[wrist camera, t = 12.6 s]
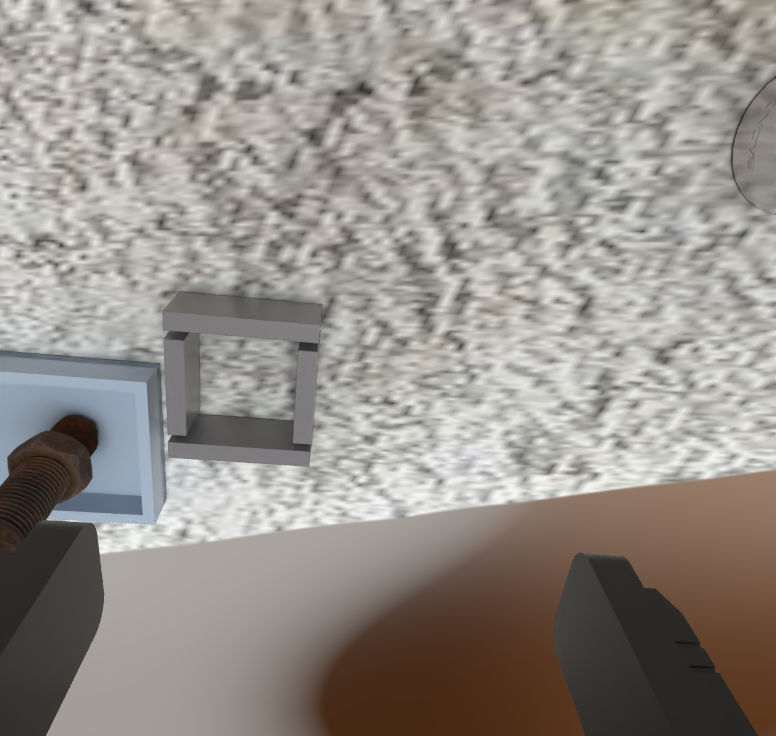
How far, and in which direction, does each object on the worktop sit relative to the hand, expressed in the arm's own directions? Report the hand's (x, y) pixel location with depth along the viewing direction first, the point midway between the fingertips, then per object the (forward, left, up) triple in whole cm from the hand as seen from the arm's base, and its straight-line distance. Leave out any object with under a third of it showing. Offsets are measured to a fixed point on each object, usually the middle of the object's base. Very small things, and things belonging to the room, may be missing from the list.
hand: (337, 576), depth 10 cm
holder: (+6, +11, -31) cm, 33 cm away
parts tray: (+19, +17, -31) cm, 40 cm away
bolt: (+18, +17, -30) cm, 39 cm away
